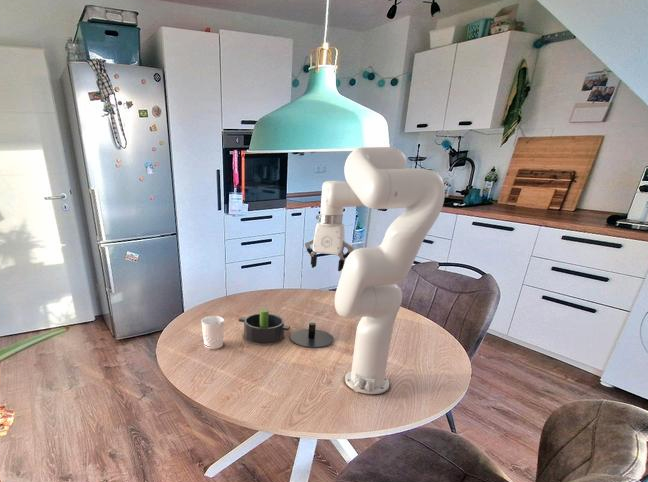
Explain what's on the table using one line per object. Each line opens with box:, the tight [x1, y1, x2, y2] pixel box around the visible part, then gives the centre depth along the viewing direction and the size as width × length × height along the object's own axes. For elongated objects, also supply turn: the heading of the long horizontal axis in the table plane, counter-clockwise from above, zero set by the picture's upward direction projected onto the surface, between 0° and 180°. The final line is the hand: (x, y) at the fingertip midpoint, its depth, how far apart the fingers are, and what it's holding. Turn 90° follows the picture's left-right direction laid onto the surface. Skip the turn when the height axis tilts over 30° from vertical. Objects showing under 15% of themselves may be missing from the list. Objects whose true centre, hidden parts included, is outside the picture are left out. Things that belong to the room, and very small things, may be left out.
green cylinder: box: [259, 308, 270, 328], centre depth 144 cm, size 3×3×10 cm
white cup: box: [200, 315, 225, 350], centre depth 137 cm, size 8×8×10 cm
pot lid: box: [289, 321, 334, 349], centre depth 141 cm, size 16×16×7 cm
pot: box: [238, 313, 291, 345], centre depth 145 cm, size 15×20×6 cm
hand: (326, 268), depth 139 cm, fingers open, 9 cm apart
